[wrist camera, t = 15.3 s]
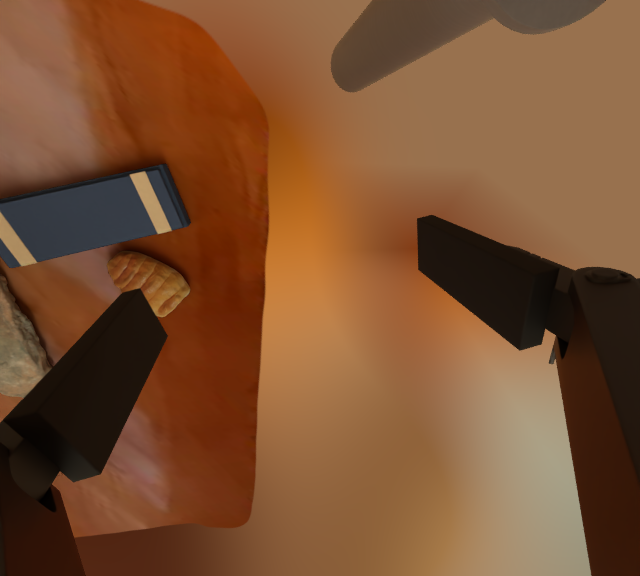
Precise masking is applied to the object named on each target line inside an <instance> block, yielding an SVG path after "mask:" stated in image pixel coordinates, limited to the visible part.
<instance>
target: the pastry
mask: <svg viewBox="0 0 640 576" xmlns="http://www.w3.org/2000/svg"><path fill="white" fill-rule="evenodd" d="M107 267H108V273H109V274H110V276H111V277H112V279H113V281H114V284H115V285H116V286H118V287H119V288H120V289H121V292H122V293H123V292H126V291H130V290H134V289H138V288H140V289H141V290H142V292H143V294H144V296H145V297H146V299H147V301H148V303H149V304H150V306H151V308H152V309H153V311H154V313H155V315H156V316H160V317H164V316H166V315H167V314H168V313H170V312H171V311H172V310H174V309H175V308H176V306H177V305H178V303H180V302H181V301H182V300H183V298H184V297H186V296H187V295H188V294H189V293H190V288H189V285H188V284H187V282H186V281H185V279H184V278H183V276H182V275H181V274H180V273H178V272H177V271H176V270H175V269H173V268H171V267H169V266H168V265H166V264H163V263H162V262H160V261H157V260H155V259H153V258H151V257H149V256H146V255H144V254H142V253H139V252H133V251H121V252H119V253H118V254H116V255H115V256H114V257H113V258H112V259H111V260H110V261H109V262H108V263H107Z"/></svg>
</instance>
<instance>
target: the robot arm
mask: <svg viewBox="0 0 640 576" xmlns="http://www.w3.org/2000/svg"><path fill="white" fill-rule="evenodd" d="M417 231H418V232H417V233H418V270H420V271H421V272H422V273H423V274H424V275H426V276H427V277H428V278H429V279H431V280H432V281H433V282H434V283H436V284H437V285H438V286H439V287H441V288H442V289H443V290H444V291H446V292H447V293H448V294H449V295H451V296H452V297H453V298H455V299H456V300H457V301H458V302H459V303H461V304H462V305H463V306H465V307H466V308H467V309H468V310H469V311H471V312H472V313H474V315H476V316H477V317H478V318H479V319H481V320H482V321H483V322H485V323H486V324H487V325H488V326H489V327H491V328H492V329H493V330H495V331H496V332H497V333H498V334H500V335H501V336H502V337H503V338H505V339H506V340H507V341H508V342H510V343H511V344H512V345H513V346H515V347H516V348H517V349H519V350H524V349H527V348H530V347H534V346H537V345H541V344H542V340H543V336H544V332H545V329H547V330H548V331H550V332H552V333H553V334H555V335H556V338H555V341H554V345H553V349H552V353H551V356H550V360H549V364H553V363H554V360H555V359H556V363H557V369H558V375H559V381H560V387H561V393H562V399H563V405H564V411H565V417H566V424H567V430H568V436H569V442H570V448H571V454H572V460H573V466H574V472H575V478H576V484H577V490H578V497H579V503H580V509H581V515H582V521H583V527H584V533H585V539H586V545H587V551H588V557H589V563H590V569H591V575H592V576H640V278H639V279H636V278H635V277H634V276H632V275H631V274H628V273H626V272H623V271H620V270H616V269H611V268H603V267H586V268H581V269H577V270H576V271H575V270H572V269H570V268H567V267H565V266H562V265H560V264H557V263H555V262H552V261H550V260H547V259H545V258H541V257H540V256H537V255H535V254H530V252H527V251H525V250H523V249H520V248H517V247H512V246H506V245H504V244H501V243H499V242H496V241H494V240H492V239H489V238H487V237H484V236H482V235H480V234H477V233H475V232H472V231H470V230H467V229H465V228H463V227H460V226H458V225H455V224H453V223H451V222H448V221H446V220H443V219H441V218H438V217H436V216H434V215H429V216H426V217H422V218H418V219H417ZM167 337H168V336H167V334H166V332H165V330H164V329H163V327H162V325H161V323H160V322H159V320H158V318H157V316H156V315H155V313H154V311H153V309H152V308H151V306H150V304H149V303H148V301H147V299H146V297H145V296H144V294H143V292H142V290H141V289H140V288H138V289H134V290H130V291H126V292H123V293H122V294H121V295H120V296H119V297H118V298H117V299H116V300H115V301H114V302H113V303H112V304H111V305H110V307H109V308H108V309H107V310H106V311H105V312H104V313H103V314H102V315H101V316H100V317H99V318H98V319H97V320H96V322H95V323H94V324H93V325H92V326H91V327H90V328H89V329H88V330H87V331H86V332H85V333H84V334H83V336H82V337H81V338H80V339H79V340H78V341H77V342H76V343H75V344H74V345H73V346H72V347H71V348H70V349H69V351H68V352H67V353H66V354H65V355H64V356H63V357H62V358H61V359H60V360H59V361H58V362H57V363H56V364H55V366H54V367H53V368H52V369H51V370H50V371H49V372H48V373H47V374H46V375H45V376H44V377H43V378H42V379H41V380H40V381H39V382H38V383H37V384H36V385H35V386H34V388H33V389H32V390H31V391H30V392H29V393H28V394H27V395H26V396H25V397H24V399H23V400H21V401H20V402H19V403H18V405H17V406H16V407H15V408H14V409H13V410H12V411H11V412H10V413H9V414H8V415H7V416H6V417H5V418H4V419H3V421H2V422H1V423H0V576H86V575H85V572H84V569H83V566H82V563H81V559H80V556H79V553H78V549H77V546H76V543H75V539H74V536H73V533H72V530H71V526H70V523H69V520H68V517H67V513H66V510H65V507H64V503H63V500H62V497H61V494H60V491H59V490H58V489H57V488H56V487H54V486H53V485H52V483H53V481H54V479H55V478H56V476H57V474H58V473H59V471H61V472H62V473H63V474H64V475H66V476H67V477H68V478H69V479H70V480H71V481H72V482H76V481H79V480H83V479H86V478H89V477H93V476H96V475H100V474H101V473H102V471H103V469H104V466H105V464H106V462H107V460H108V458H109V456H110V454H111V452H112V450H113V448H114V446H115V444H116V442H117V440H118V438H119V436H120V434H121V431H122V429H123V427H124V425H125V423H126V421H127V419H128V417H129V415H130V413H131V411H132V409H133V407H134V405H135V403H136V401H137V399H138V396H139V394H140V392H141V390H142V388H143V386H144V384H145V382H146V380H147V378H148V376H149V374H150V372H151V370H152V368H153V366H154V364H155V361H156V359H157V357H158V355H159V353H160V351H161V349H162V347H163V345H164V343H165V341H166V339H167Z"/></svg>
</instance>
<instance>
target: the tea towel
mask: <svg viewBox="0 0 640 576" xmlns="http://www.w3.org/2000/svg"><path fill="white" fill-rule="evenodd" d="M190 223H191V222H190V219H189V217H188V215H187V212H186V210H185V207H184V205H183V203H182V200H181V198H180V195H179V193H178V190H177V188H176V186H175V183H174V181H173V178H172V176H171V174H170V171H169V169H168V166H167V164H161V165H157V166H152V167H147V168H143V169H138V170H133V171H129V172H124V173H119V174H115V175H110V176H105V177H101V178H96V179H92V180H87V181H82V182H78V183H73V184H68V185H64V186H59V187H54V188H50V189H45V190H41V191H36V192H31V193H27V194H22V195H17V196H13V197H8V198H3V199H0V256H1V258H2V259H3V260H4V261H5V263H6V264H7V265H8V266H9V268H15V267H19V266H26V265H30V264H34V263H37V262H40V261H44V260H49V259H53V258H57V257H61V256H65V255H70V254H74V253H78V252H82V251H86V250H91V249H95V248H99V247H103V246H108V245H112V244H116V243H120V242H124V241H129V240H133V239H137V238H141V237H146V236H150V235H154V234H160V233H165V232H169V231H172V230H175V229H179V228H183V227H188V226H189V225H190Z"/></svg>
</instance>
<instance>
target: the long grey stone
mask: <svg viewBox="0 0 640 576" xmlns="http://www.w3.org/2000/svg"><path fill="white" fill-rule="evenodd" d="M7 284H8V282H7V281H6V278H5V277H4V276H3V275H1V274H0V393H2V394H4V395H7V396H18V397H23V398H24V397H25V396H26V395H27V394H28V393H29V392H30V391H31V390H32V389H33V388H34V386H35V385H36V384H37V383H38V382H39V381H40V380H41V379H42V378H43V377H44V376H45V375H46V374H47V373H48V372H49V371H50V370H51V369H52V367H51V366H50V364H49V363H48V361H47V359H46V352H45V350H44V349H43V348H42V347H41V345H40V343H39V337H38V336H37V335H36V333H35V330H34V327H33V325H32V322H31V321H30V320H29V319H27V316H26V315H24V314H23V313H22V312H21V311H20V308H19V307H18V305H17V304H16V303H15V300H16V299H15V297H13V295H12V294H11V293H10V292H9V290H8V287H7Z"/></svg>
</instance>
